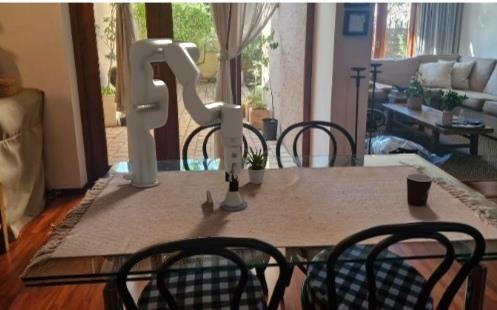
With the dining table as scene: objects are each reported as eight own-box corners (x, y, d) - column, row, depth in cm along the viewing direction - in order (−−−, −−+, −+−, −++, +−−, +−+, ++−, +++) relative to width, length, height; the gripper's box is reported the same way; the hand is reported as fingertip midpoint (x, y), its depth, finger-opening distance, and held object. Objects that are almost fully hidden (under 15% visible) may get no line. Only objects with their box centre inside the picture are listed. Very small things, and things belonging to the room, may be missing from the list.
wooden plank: (210, 213, 148) (209, 202, 147) (206, 200, 159) (206, 190, 158) (213, 213, 148) (213, 202, 147) (210, 200, 160) (209, 190, 158)
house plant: (230, 185, 175) (229, 147, 170) (243, 174, 187) (243, 138, 182) (263, 189, 170) (263, 150, 165) (274, 178, 182) (274, 141, 177)
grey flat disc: (222, 212, 149) (221, 210, 149) (218, 201, 158) (218, 200, 158) (249, 209, 151) (249, 208, 150) (244, 199, 160) (244, 197, 160)
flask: (241, 208, 150) (240, 181, 147) (221, 207, 152) (220, 180, 149) (244, 200, 157) (244, 175, 154) (225, 199, 158) (225, 174, 156)
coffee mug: (417, 209, 149) (420, 182, 146) (399, 201, 156) (401, 175, 154) (440, 203, 154) (443, 177, 151) (421, 195, 162) (424, 170, 159)
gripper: (247, 146, 140) (246, 194, 145) (238, 133, 156) (237, 177, 162) (224, 147, 139) (224, 196, 144) (217, 134, 155) (218, 178, 160)
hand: (231, 186), depth 153 cm, fingers open, 9 cm apart
